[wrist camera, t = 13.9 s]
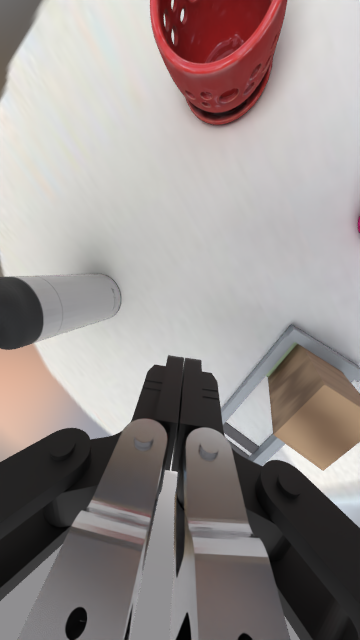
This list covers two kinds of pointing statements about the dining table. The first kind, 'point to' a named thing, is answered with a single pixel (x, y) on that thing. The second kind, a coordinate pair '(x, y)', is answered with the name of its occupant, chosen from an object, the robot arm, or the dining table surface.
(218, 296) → the dining table surface
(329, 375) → the walnut block
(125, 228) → the dining table surface
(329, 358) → the trap channel
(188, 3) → the plant pot
